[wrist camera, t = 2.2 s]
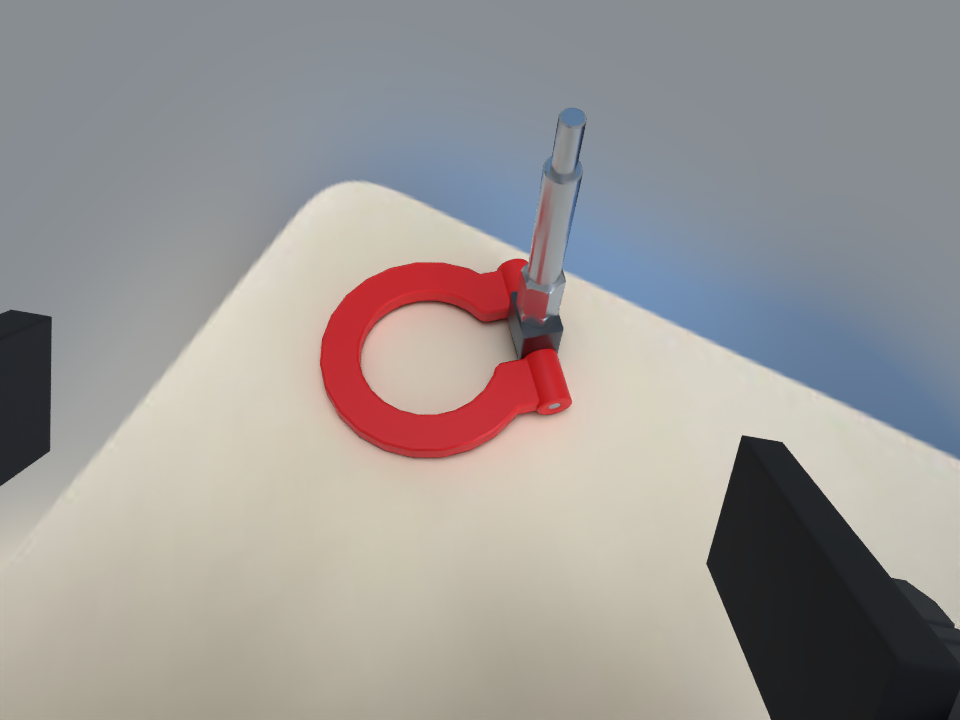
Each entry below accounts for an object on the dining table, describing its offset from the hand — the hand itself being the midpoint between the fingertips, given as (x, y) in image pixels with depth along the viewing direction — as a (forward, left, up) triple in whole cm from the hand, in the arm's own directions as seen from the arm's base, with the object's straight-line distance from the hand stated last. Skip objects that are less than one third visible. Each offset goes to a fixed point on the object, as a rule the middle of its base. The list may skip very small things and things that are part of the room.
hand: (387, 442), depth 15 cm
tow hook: (-2, +9, -15) cm, 18 cm away
